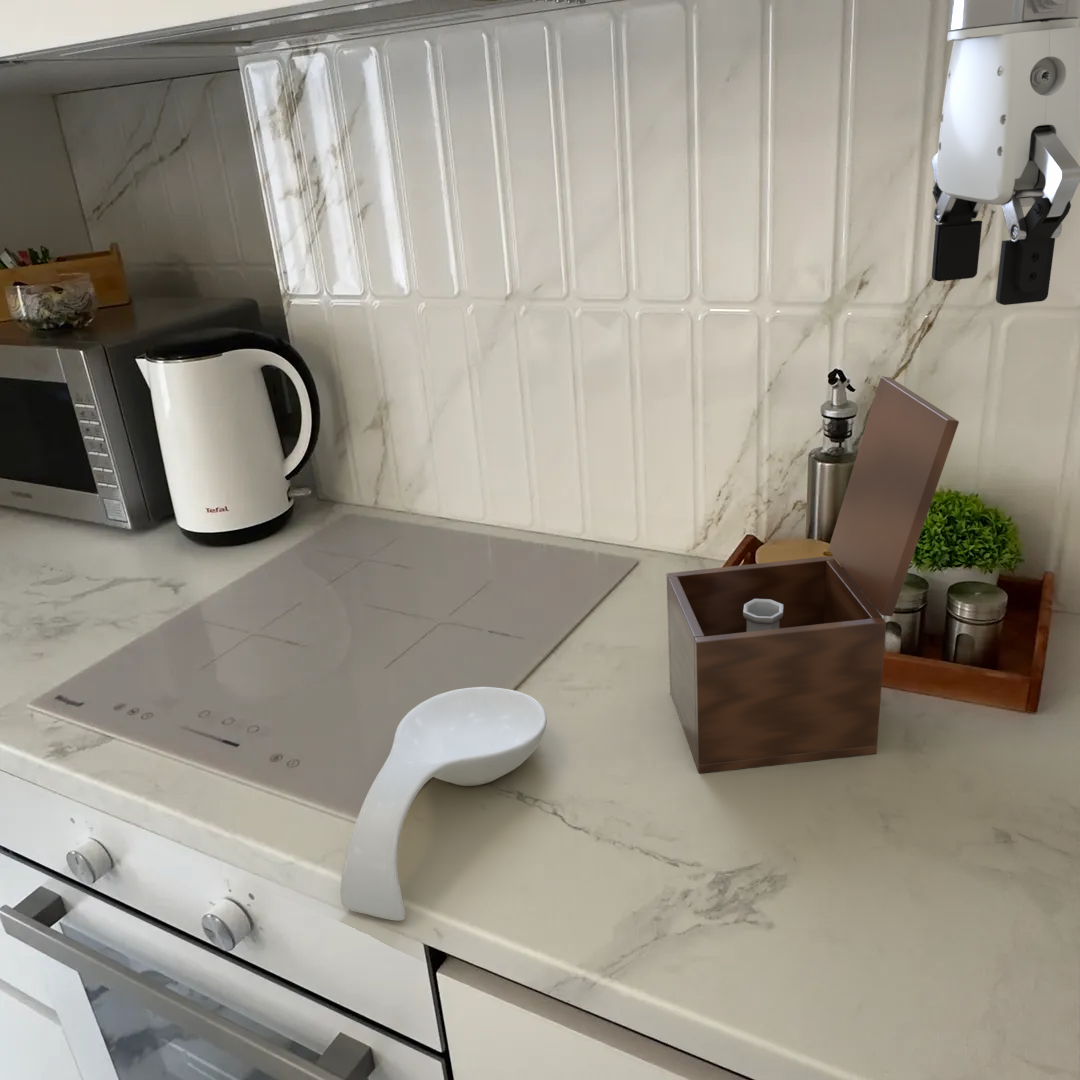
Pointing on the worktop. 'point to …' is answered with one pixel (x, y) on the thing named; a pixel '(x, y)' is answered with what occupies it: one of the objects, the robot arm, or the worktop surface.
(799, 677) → the box
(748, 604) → the flask
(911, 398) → the lid
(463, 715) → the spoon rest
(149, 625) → the worktop surface
